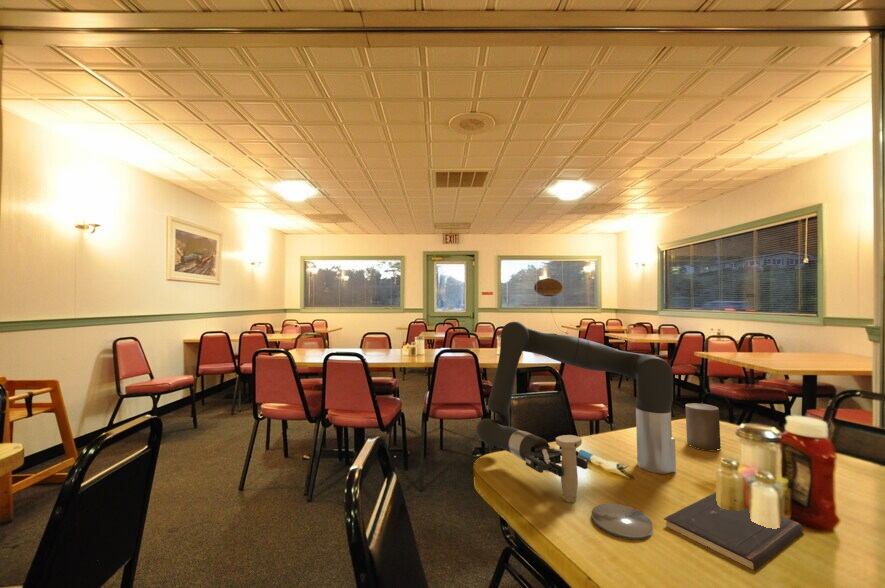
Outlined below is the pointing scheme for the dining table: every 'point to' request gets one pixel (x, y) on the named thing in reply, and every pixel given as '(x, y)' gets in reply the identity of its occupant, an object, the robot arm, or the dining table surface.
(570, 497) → the handle
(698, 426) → the pillar candle
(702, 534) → the hardcover book
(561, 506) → the dining table surface
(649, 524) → the disk
